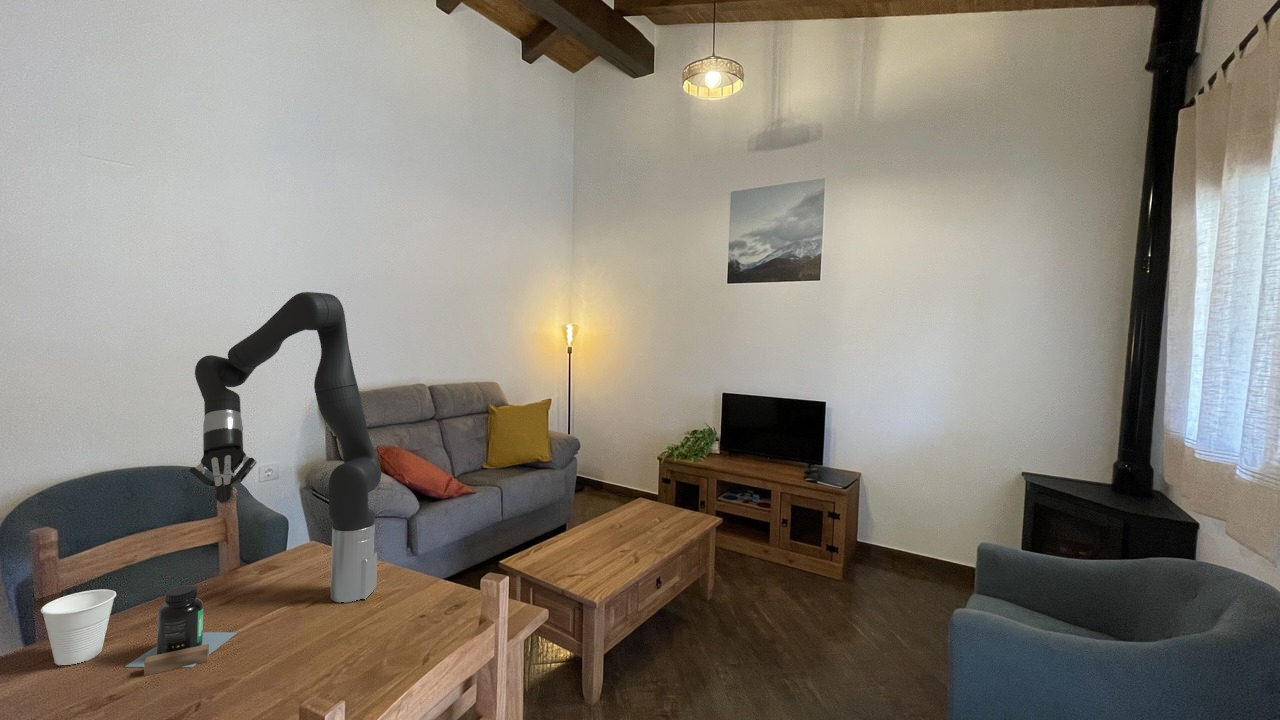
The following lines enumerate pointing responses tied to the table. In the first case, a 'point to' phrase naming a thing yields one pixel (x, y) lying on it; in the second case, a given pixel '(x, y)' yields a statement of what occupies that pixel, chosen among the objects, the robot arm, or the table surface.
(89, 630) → the cup
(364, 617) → the table surface
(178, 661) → the rail
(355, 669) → the table surface
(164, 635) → the supplement bottle
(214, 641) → the mat
